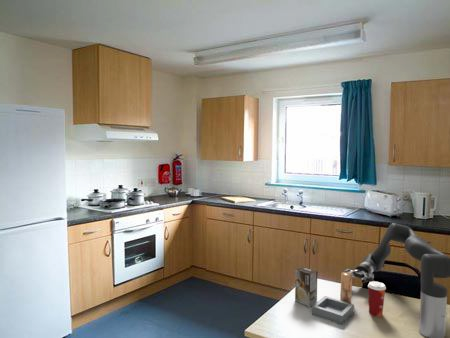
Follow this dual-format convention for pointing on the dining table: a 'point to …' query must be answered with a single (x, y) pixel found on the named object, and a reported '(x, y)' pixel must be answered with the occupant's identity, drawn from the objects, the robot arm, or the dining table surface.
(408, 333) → the dining table surface
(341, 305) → the grey tray
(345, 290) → the copper tin
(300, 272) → the coffee box
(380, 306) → the paper cup
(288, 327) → the dining table surface
